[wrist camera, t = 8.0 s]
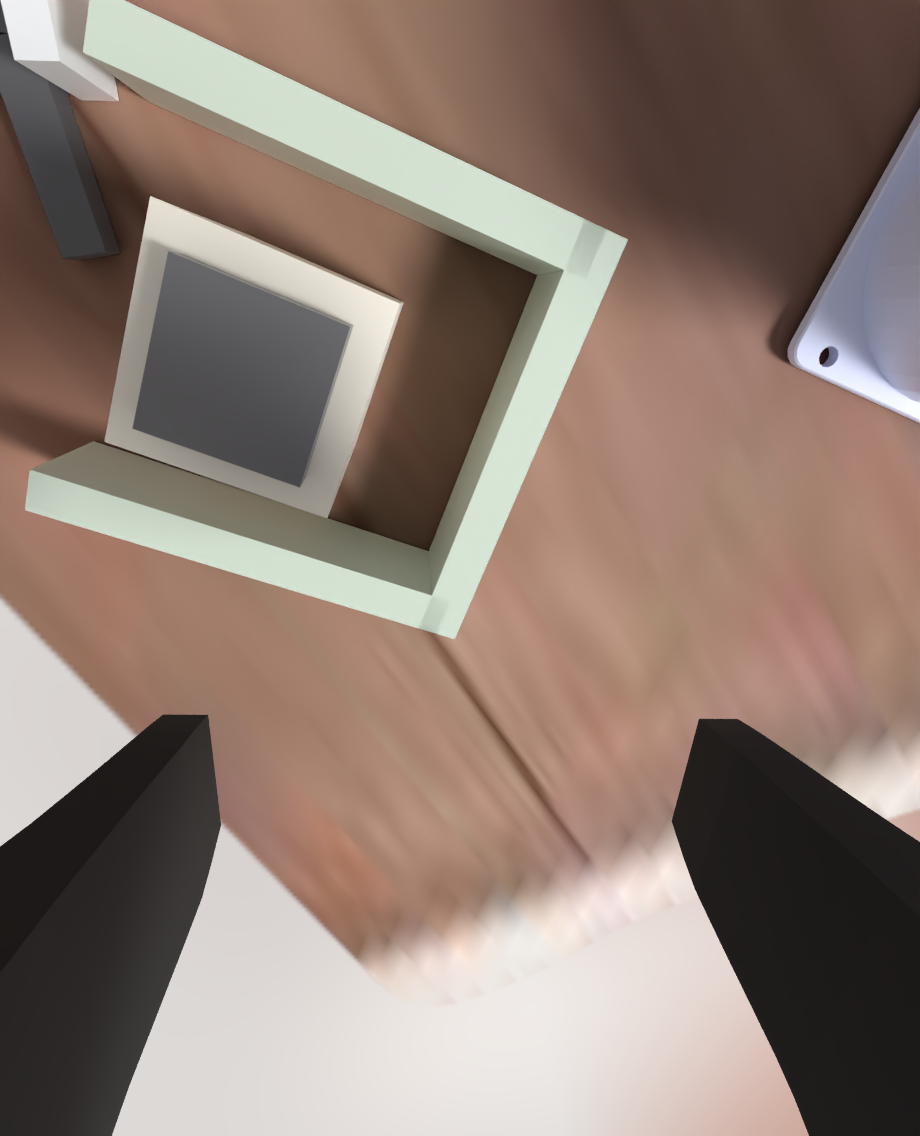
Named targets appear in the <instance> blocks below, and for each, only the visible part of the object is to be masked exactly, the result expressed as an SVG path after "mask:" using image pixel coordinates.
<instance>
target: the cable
mask: <svg viewBox="0 0 920 1136" xmlns="http://www.w3.org/2000/svg"><path fill="white" fill-rule="evenodd" d="M0 93H1V95H2V98H3V101H4V103H5V106H6V109H7V112H8V114H9V117H10V120H11V122H12V125H13V128H14V130H15V133H16V136H17V139H18V141H19V144H20V147H21V149H22V152H23V155H24V157H25V160H26V163H27V165H28V168H29V171H30V174H31V176H32V179H33V182H34V184H35V187H36V190H37V192H38V195H39V198H40V201H41V203H42V206H43V209H44V211H45V214H46V217H47V219H48V222H49V225H50V228H51V230H52V233H53V236H54V238H55V241H56V244H57V246H58V249H59V252H60V254H61V257H62V258H64V259H72V260H84V259H90V258H97V257H103V256H109V255H115V254H121V253H120V250H119V247H118V244H117V241H116V238H115V235H114V232H113V229H112V226H111V223H110V220H109V217H108V214H107V211H106V208H105V205H104V202H103V199H102V196H101V193H100V190H99V187H98V184H97V181H96V178H95V175H94V172H93V169H92V167H91V164H90V161H89V158H88V155H87V152H86V149H85V146H84V143H83V140H82V137H81V134H80V131H79V128H78V125H77V122H76V119H75V116H74V113H73V110H72V107H71V104H70V101H69V98H68V95H67V92H66V91H65V90H63V89H62V88H60V87H58V86H57V85H55V84H53V83H52V82H50V81H48V80H47V79H45V78H43V77H42V76H40V75H38V74H37V73H35V72H33V71H32V70H30V69H28V68H27V67H25V66H23V65H22V64H20V63H19V62H17V61H15V60H14V57H13V52H12V48H11V44H10V39H9V35H8V31H7V26H6V22H5V18H4V13H3V9H2V4H1V0H0Z"/></svg>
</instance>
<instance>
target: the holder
mask: <svg viewBox="0 0 920 1136" xmlns="http://www.w3.org/2000/svg"><path fill="white" fill-rule="evenodd" d="M83 53H84V54H86V55H87V56H88V57H90V58H91V59H92V60H93V61H95V62H96V63H97V64H99V65H100V66H101V67H103V68H104V69H105V70H107V71H108V72H109V73H111V74H112V75H113V76H115V77H116V78H117V79H119V80H120V81H121V82H123V83H124V84H125V85H127V86H128V87H129V88H131V89H132V90H133V91H135V92H136V93H137V94H139V95H140V96H141V97H143V98H144V99H145V100H147V101H148V102H150V103H152V104H154V105H156V106H159V107H161V108H163V109H165V110H168V111H170V112H172V113H174V114H177V115H179V116H181V117H183V118H186V119H188V120H190V121H192V122H195V123H197V124H199V125H201V126H204V127H206V128H208V129H210V130H213V131H215V132H217V133H219V134H221V135H224V136H226V137H228V138H230V139H233V140H235V141H237V142H239V143H242V144H244V145H246V146H248V147H251V148H253V149H255V150H257V151H260V152H262V153H264V154H266V155H269V156H271V157H273V158H275V159H278V160H280V161H282V162H284V163H287V164H289V165H291V166H293V167H296V168H298V169H300V170H302V171H304V172H307V173H309V174H311V175H313V176H316V177H318V178H320V179H322V180H325V181H327V182H329V183H331V184H334V185H336V186H338V187H340V188H343V189H345V190H347V191H349V192H352V193H354V194H356V195H358V196H361V197H363V198H365V199H367V200H370V201H372V202H374V203H376V204H379V205H381V206H383V207H385V208H388V209H390V210H392V211H394V212H396V213H399V214H401V215H403V216H405V217H408V218H410V219H412V220H414V221H417V222H419V223H421V224H423V225H426V226H428V227H430V228H432V229H435V230H437V231H439V232H441V233H444V234H446V235H448V236H450V237H453V238H455V239H457V240H459V241H462V242H464V243H466V244H468V245H471V246H473V247H475V248H477V249H479V250H482V251H484V252H486V253H488V254H491V255H493V256H495V257H497V258H500V259H502V260H504V261H506V262H509V263H511V264H513V265H515V266H518V267H520V268H522V269H524V270H527V271H529V272H531V273H533V274H536V275H537V277H536V279H535V282H534V284H533V287H532V290H531V292H530V295H529V297H528V300H527V302H526V305H525V307H524V310H523V312H522V315H521V318H520V320H519V323H518V325H517V328H516V330H515V333H514V335H513V338H512V341H511V343H510V346H509V348H508V351H507V353H506V356H505V358H504V361H503V363H502V366H501V369H500V371H499V374H498V376H497V379H496V381H495V384H494V386H493V389H492V391H491V394H490V397H489V399H488V402H487V404H486V407H485V409H484V412H483V414H482V417H481V420H480V422H479V425H478V427H477V430H476V432H475V435H474V437H473V440H472V442H471V445H470V448H469V450H468V453H467V455H466V458H465V460H464V463H463V465H462V468H461V471H460V473H459V476H458V478H457V481H456V483H455V486H454V488H453V491H452V493H451V496H450V499H449V501H448V504H447V506H446V509H445V511H444V514H443V516H442V519H441V521H440V524H439V527H438V529H437V532H436V534H435V537H434V539H433V542H432V544H431V547H430V550H429V551H426V550H423V549H420V548H417V547H414V546H411V545H408V544H405V543H402V542H399V541H396V540H393V539H390V538H386V537H383V536H380V535H377V534H374V533H371V532H368V531H365V530H362V529H359V528H356V527H353V526H350V525H347V524H344V523H341V522H338V521H335V520H332V519H329V518H324V517H321V516H318V515H315V514H313V513H310V512H307V511H304V510H301V509H298V508H295V507H292V506H289V505H286V504H283V503H280V502H277V501H274V500H271V499H268V498H265V497H262V496H259V495H256V494H253V493H250V492H247V491H244V490H241V489H238V488H235V487H232V486H228V485H225V484H222V483H219V482H216V481H213V480H210V479H207V478H204V477H201V476H198V475H195V474H192V473H189V472H186V471H183V470H180V469H177V468H174V467H171V466H168V465H165V464H162V463H159V462H156V461H153V460H149V459H146V458H143V457H140V456H137V455H134V454H131V453H128V452H125V451H122V450H119V449H116V448H113V447H110V446H107V445H104V444H101V443H98V442H95V441H93V442H90V443H88V444H86V445H84V446H82V447H79V448H77V449H75V450H73V451H70V452H68V453H66V454H64V455H62V456H59V457H57V458H55V459H53V460H50V461H48V462H46V463H44V464H41V465H39V466H37V467H35V468H33V469H30V473H29V481H28V489H27V497H26V505H25V510H26V511H30V512H33V513H36V514H40V515H43V516H46V517H49V518H53V519H56V520H59V521H63V522H66V523H69V524H73V525H76V526H79V527H83V528H86V529H89V530H93V531H96V532H99V533H103V534H106V535H109V536H113V537H116V538H119V539H123V540H126V541H129V542H133V543H136V544H139V545H143V546H146V547H149V548H153V549H156V550H159V551H163V552H166V553H169V554H173V555H176V556H179V557H183V558H186V559H189V560H193V561H196V562H199V563H203V564H206V565H209V566H213V567H216V568H219V569H223V570H226V571H229V572H233V573H236V574H239V575H243V576H246V577H249V578H253V579H256V580H259V581H263V582H266V583H269V584H273V585H276V586H279V587H283V588H286V589H289V590H293V591H296V592H299V593H303V594H306V595H309V596H313V597H316V598H319V599H323V600H326V601H329V602H332V603H336V604H339V605H342V606H346V607H349V608H352V609H356V610H359V611H362V612H366V613H369V614H372V615H376V616H379V617H382V618H386V619H389V620H392V621H396V622H399V623H402V624H406V625H409V626H412V627H416V628H419V629H422V630H426V631H429V632H432V633H436V634H439V635H442V636H446V637H449V638H452V639H455V637H456V635H457V632H458V630H459V628H460V625H461V623H462V621H463V619H464V616H465V614H466V612H467V609H468V607H469V605H470V602H471V600H472V598H473V596H474V593H475V591H476V589H477V586H478V584H479V582H480V579H481V577H482V575H483V572H484V570H485V568H486V566H487V563H488V561H489V559H490V556H491V554H492V552H493V549H494V547H495V545H496V542H497V540H498V538H499V536H500V533H501V531H502V529H503V526H504V524H505V522H506V519H507V517H508V515H509V513H510V510H511V508H512V506H513V503H514V501H515V499H516V496H517V494H518V492H519V489H520V487H521V485H522V483H523V480H524V478H525V476H526V473H527V471H528V469H529V466H530V464H531V462H532V460H533V457H534V455H535V453H536V450H537V448H538V446H539V443H540V441H541V439H542V436H543V434H544V432H545V430H546V427H547V425H548V423H549V420H550V418H551V416H552V413H553V411H554V409H555V406H556V404H557V402H558V400H559V397H560V395H561V393H562V390H563V388H564V386H565V383H566V381H567V379H568V377H569V374H570V372H571V370H572V367H573V365H574V363H575V360H576V358H577V356H578V353H579V351H580V349H581V347H582V344H583V342H584V340H585V337H586V335H587V333H588V330H589V328H590V326H591V324H592V321H593V319H594V317H595V314H596V312H597V310H598V307H599V305H600V303H601V300H602V298H603V296H604V294H605V291H606V289H607V287H608V284H609V282H610V280H611V277H612V275H613V273H614V271H615V268H616V266H617V264H618V261H619V259H620V257H621V254H622V252H623V250H624V247H625V245H626V243H627V241H628V239H626V238H623V237H621V236H619V235H617V234H615V233H613V232H611V231H609V230H607V229H604V228H602V227H600V226H598V225H596V224H594V223H592V222H590V221H588V220H586V219H583V218H581V217H579V216H577V215H575V214H573V213H571V212H569V211H567V210H564V209H562V208H560V207H558V206H556V205H554V204H552V203H550V202H548V201H546V200H543V199H541V198H539V197H537V196H535V195H533V194H531V193H529V192H527V191H524V190H522V189H520V188H518V187H516V186H514V185H512V184H510V183H508V182H506V181H503V180H501V179H499V178H497V177H495V176H493V175H491V174H489V173H487V172H485V171H482V170H480V169H478V168H476V167H474V166H472V165H470V164H468V163H466V162H463V161H461V160H459V159H457V158H455V157H453V156H451V155H449V154H447V153H445V152H442V151H440V150H438V149H436V148H434V147H432V146H430V145H428V144H426V143H423V142H421V141H419V140H417V139H415V138H413V137H411V136H409V135H407V134H405V133H402V132H400V131H398V130H396V129H394V128H392V127H390V126H388V125H386V124H383V123H381V122H379V121H377V120H375V119H373V118H371V117H369V116H367V115H365V114H362V113H360V112H358V111H356V110H354V109H352V108H350V107H348V106H346V105H343V104H341V103H339V102H337V101H335V100H333V99H331V98H329V97H327V96H325V95H322V94H320V93H318V92H316V91H314V90H312V89H310V88H308V87H306V86H304V85H301V84H299V83H297V82H295V81H293V80H291V79H289V78H287V77H285V76H282V75H280V74H278V73H276V72H274V71H272V70H270V69H268V68H266V67H264V66H261V65H259V64H257V63H255V62H253V61H251V60H249V59H247V58H245V57H242V56H240V55H238V54H236V53H234V52H232V51H230V50H228V49H226V48H224V47H221V46H219V45H217V44H215V43H213V42H211V41H209V40H207V39H205V38H202V37H200V36H198V35H196V34H194V33H192V32H190V31H188V30H186V29H184V28H181V27H179V26H177V25H175V24H173V23H171V22H169V21H167V20H165V19H163V18H160V17H158V16H156V15H154V14H152V13H150V12H148V11H146V10H144V9H141V8H139V7H137V6H135V5H133V4H131V3H129V2H127V1H125V0H89V7H88V15H87V23H86V31H85V39H84V47H83Z"/></svg>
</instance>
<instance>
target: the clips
mask: <svg viewBox="0 0 920 1136" xmlns="http://www.w3.org/2000/svg"><path fill="white" fill-rule="evenodd" d="M1 4H2V9H3V13H4V18H5V22H6V26H7V31H8V35H9V39H10V44H11V48H12V52H13V57H14V60H15V61H17V62H19V63H20V64H22V65H23V66H25V67H27V68H28V69H30V70H32V71H33V72H35V73H37V74H38V75H40V76H42V77H43V78H45V79H47V80H48V81H50V82H52V83H53V84H55V85H57V86H58V87H60V88H62V89H63V90H65V91H67V92H68V93H70V94H72V95H73V96H75V97H77V98H78V99H80V100H87V101H119V98H118V93H117V87H116V82H115V76H113V75H112V74H111V73H109V72H108V71H107V70H105V69H104V68H103V67H101V66H100V65H99V64H97V63H96V62H95V61H93V60H92V59H91V58H90V57H88V56H87V55H86V54H84V53H83V47H84V39H85V31H86V23H87V15H88V7H89V0H1Z"/></svg>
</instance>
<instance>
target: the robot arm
mask: <svg viewBox="0 0 920 1136" xmlns="http://www.w3.org/2000/svg"><path fill="white" fill-rule="evenodd" d="M825 348H828V349H829V357H828V359H827V361H826V362H825V363H824V364H822V365H821V364H820V363H819V356H820V353H821V352H822V351H823V350H824V349H825ZM788 358H789V361H790V363H791V364H792V365H794V366H795V367H797V368H799V369H801V370H803V371H805V372H808V373H810V374H812V375H814V376H816V377H819V378H821V379H823V380H825V381H827V382H830V383H832V384H834V385H836V386H838V387H841V388H843V389H845V390H847V391H849V392H852V393H854V394H856V395H858V396H860V397H862V398H865V399H867V400H869V401H871V402H873V403H876V404H878V405H880V406H882V407H884V408H887V409H889V410H891V411H893V412H895V413H898V414H900V415H902V416H904V417H906V418H909V419H911V420H913V421H915V422H917V423H920V108H919V110H918V112H917V114H916V115H915V117H914V119H913V121H912V123H911V124H910V126H909V128H908V130H907V132H906V134H905V135H904V137H903V139H902V141H901V143H900V144H899V146H898V148H897V150H896V152H895V153H894V155H893V157H892V159H891V161H890V162H889V164H888V166H887V168H886V170H885V172H884V173H883V175H882V177H881V179H880V181H879V182H878V184H877V186H876V188H875V190H874V191H873V193H872V195H871V197H870V199H869V201H868V202H867V204H866V206H865V208H864V210H863V211H862V213H861V215H860V217H859V219H858V220H857V222H856V224H855V226H854V228H853V229H852V231H851V233H850V235H849V237H848V239H847V240H846V242H845V244H844V246H843V248H842V249H841V251H840V253H839V255H838V257H837V258H836V260H835V262H834V264H833V266H832V268H831V269H830V271H829V273H828V275H827V277H826V278H825V280H824V282H823V284H822V286H821V287H820V289H819V291H818V293H817V295H816V297H815V298H814V300H813V302H812V304H811V306H810V307H809V309H808V311H807V313H806V315H805V316H804V318H803V320H802V322H801V324H800V325H799V327H798V329H797V331H796V333H795V335H794V336H793V338H792V340H791V342H790V345H789V347H788ZM672 823H673V826H674V829H675V833H676V836H677V839H678V842H679V845H680V848H681V851H682V854H683V857H684V860H685V863H686V866H687V868H688V871H689V874H690V877H691V879H692V882H693V885H694V888H695V890H696V892H697V894H698V896H699V899H700V901H701V903H702V905H703V907H704V909H705V911H706V913H707V916H708V918H709V920H710V922H711V924H712V926H713V928H714V930H715V932H716V934H717V937H718V939H719V941H720V943H721V945H722V947H723V949H724V951H725V953H726V955H727V957H728V959H729V961H730V963H731V965H732V967H733V970H734V972H735V973H736V976H737V978H738V980H739V982H740V984H741V986H742V988H743V990H744V992H745V994H746V996H747V998H748V1000H749V1002H750V1004H751V1006H752V1008H753V1010H754V1013H755V1015H756V1017H757V1019H758V1021H759V1023H760V1025H761V1027H762V1029H763V1030H764V1033H765V1035H766V1037H767V1039H768V1041H769V1043H770V1045H771V1047H772V1049H773V1052H774V1053H775V1056H776V1058H777V1060H778V1062H779V1065H780V1067H781V1069H782V1071H783V1073H784V1076H785V1078H786V1080H787V1083H788V1085H789V1087H790V1089H791V1092H792V1094H793V1096H794V1098H795V1101H796V1103H797V1106H798V1108H799V1111H800V1114H801V1116H802V1119H803V1121H804V1124H805V1126H806V1129H807V1131H808V1134H809V1136H920V842H919V841H917V840H916V839H914V838H913V837H911V836H910V835H908V834H906V833H905V832H904V831H902V830H901V829H899V828H898V827H896V826H895V825H893V824H892V823H890V822H889V821H887V820H886V819H884V818H883V817H881V816H880V815H878V814H877V813H875V812H874V811H872V810H871V809H870V808H868V807H867V806H865V805H864V804H862V803H861V802H859V801H858V800H856V799H855V798H854V797H852V796H851V795H849V794H848V793H846V792H845V791H843V790H842V789H841V788H839V787H838V786H836V785H835V784H833V783H832V782H830V781H829V780H828V779H826V778H825V777H823V776H822V775H820V774H819V773H818V772H816V771H815V770H813V769H812V768H810V767H809V766H808V765H806V764H805V763H803V762H802V761H800V760H799V759H798V758H796V757H795V756H793V755H792V754H790V753H789V752H787V751H786V750H785V749H783V748H782V747H780V746H779V745H777V744H776V743H774V742H773V741H771V740H770V739H768V738H767V737H765V736H764V735H762V734H761V733H759V732H758V731H756V730H755V729H753V728H751V727H750V726H748V725H747V724H745V723H743V722H742V721H740V720H738V719H699V721H698V725H697V729H696V733H695V736H694V740H693V744H692V748H691V751H690V755H689V759H688V763H687V766H686V770H685V774H684V778H683V781H682V785H681V789H680V792H679V796H678V800H677V804H676V807H675V811H674V815H673V819H672ZM220 827H221V821H220V813H219V804H218V796H217V787H216V779H215V770H214V762H213V753H212V745H211V736H210V728H209V719H208V715H162V716H161V717H160V718H158V719H157V720H156V721H155V722H153V723H152V724H151V725H150V726H148V727H147V728H146V729H145V730H144V731H142V732H141V733H140V734H139V735H138V736H136V737H135V738H134V739H133V740H132V741H130V742H129V743H128V744H127V745H126V746H124V747H123V748H122V749H121V750H120V751H119V752H117V753H116V754H115V755H114V756H113V757H111V758H110V759H109V760H108V761H107V762H106V763H104V764H103V765H102V766H101V767H100V768H98V769H97V770H96V771H95V772H94V773H92V774H91V775H90V776H89V777H87V778H86V779H85V780H84V781H83V782H81V783H80V784H79V785H78V786H76V787H75V788H74V789H73V790H72V791H70V792H69V793H68V794H67V795H65V796H64V797H63V798H62V799H61V800H59V801H58V802H57V803H56V804H54V805H53V806H52V807H51V808H49V809H48V810H47V811H46V812H45V813H43V814H42V815H41V816H40V817H38V818H37V819H36V820H35V821H33V822H32V823H31V824H30V825H29V826H27V827H26V828H24V829H23V830H22V831H20V832H19V833H18V834H16V835H15V836H14V837H12V838H11V839H10V840H8V841H7V842H6V843H4V844H3V845H2V846H0V1136H112V1133H113V1130H114V1127H115V1124H116V1122H117V1119H118V1116H119V1113H120V1110H121V1107H122V1105H123V1102H124V1099H125V1096H126V1093H127V1091H128V1088H129V1085H130V1082H131V1080H132V1077H133V1075H134V1072H135V1070H136V1067H137V1064H138V1062H139V1059H140V1057H141V1054H142V1052H143V1049H144V1046H145V1044H146V1041H147V1039H148V1036H149V1034H150V1031H151V1028H152V1026H153V1023H154V1021H155V1018H156V1016H157V1013H158V1010H159V1008H160V1005H161V1003H162V1000H163V998H164V995H165V992H166V990H167V987H168V985H169V982H170V980H171V977H172V974H173V972H174V969H175V967H176V964H177V962H178V959H179V957H180V954H181V951H182V949H183V946H184V943H185V941H186V938H187V936H188V933H189V930H190V928H191V925H192V922H193V920H194V917H195V915H196V912H197V909H198V906H199V904H200V901H201V899H202V896H203V892H204V888H205V884H206V881H207V877H208V874H209V870H210V866H211V863H212V859H213V855H214V850H215V847H216V842H217V839H218V834H219V830H220Z"/></svg>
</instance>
